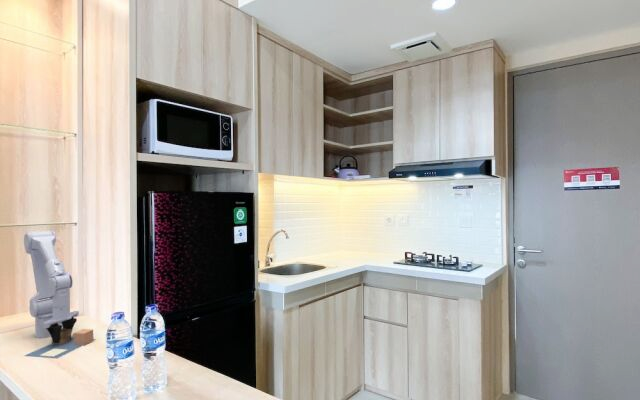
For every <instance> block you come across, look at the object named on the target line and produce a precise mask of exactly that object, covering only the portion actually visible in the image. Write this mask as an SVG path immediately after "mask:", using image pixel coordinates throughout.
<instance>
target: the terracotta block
mask: <svg viewBox="0 0 640 400" xmlns="http://www.w3.org/2000/svg"><path fill="white" fill-rule="evenodd" d="M73 338H74V345H83V346H86V345H88V344H90V343H92V342H94V341H93V339H94V329H92V328H89V329H88V328H82V329H80V330H78V331H76V332H73Z"/></svg>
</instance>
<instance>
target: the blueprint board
mask: <svg viewBox="0 0 640 400" xmlns="http://www.w3.org/2000/svg"><path fill="white" fill-rule="evenodd" d="M95 340H96V338H93V341H92V342H94V341H95ZM82 347H84V345H74V337H72V340H71V341H69V342H67V343H65V344H62V345H59V344H52V343H49V344H47V345H45V346H43V347H40V348H38V349H36V350H33V351H31V352H30V353H27V354H25V355H24V357H33V358H34V357H35V358H46V359H47V358H48V359H60V358H62V357H63V356H65V355H68V354H69V353H71V352H73V351H75V350H77V349H79V348H82Z"/></svg>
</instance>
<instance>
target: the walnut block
mask: <svg viewBox="0 0 640 400" xmlns="http://www.w3.org/2000/svg"><path fill="white" fill-rule="evenodd" d="M72 338H73V337H72V332H71V329H63V328H62V329H61V331H60V341H59V343H53V340H52V339H51V344H59V345H62V344H65V343H67V342H69V341H71V340H72Z"/></svg>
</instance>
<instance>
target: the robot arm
mask: <svg viewBox="0 0 640 400" xmlns="http://www.w3.org/2000/svg"><path fill="white" fill-rule="evenodd" d="M23 236H24V237H23V246H24V250H25V253H26V254H28V255H30V258H31V264H32V268H33V275H34V276H33V277H34V284H35V289H36V293H35V294H34V295H33V296H32V297H31V298H30V300H29V314H30V316H31V317H32V318H35V319H34V320H35V324H34V325H35V326H34V327H35V338H36V339H46V338H51V341H52V340H53V343H59V341H60V331H61V329H62V328H63V329H71V333H72V331H73V328H74V326H75V324H76V323H77V321H78V320H77V319H78V318H77V317H79V315H80V314H79V313H80V311H79V310H77V311H76V310H75V311H74V310H73V311H71V292H70V291H71V290H70V289H71V288H72V287H73V276H72V275H71V273H69V272H68V271H66V269H65V266H64V264H63V262H62V260H60V259H58V257H57V254H56V249H55V245H56V243H57V242H56V241H57V234H56V233H55V231H54V230H43V231H42V230H41V231H27V232H26V233H24V235H23Z"/></svg>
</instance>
